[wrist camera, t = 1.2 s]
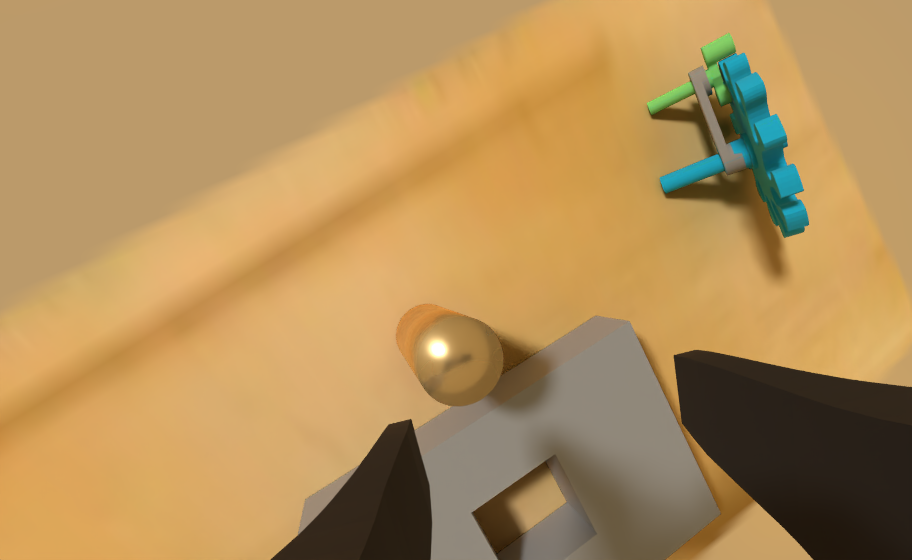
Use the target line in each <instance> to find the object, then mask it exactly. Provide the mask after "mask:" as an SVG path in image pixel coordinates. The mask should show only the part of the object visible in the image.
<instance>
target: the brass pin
mask: <svg viewBox="0 0 912 560" xmlns="http://www.w3.org/2000/svg"><path fill="white" fill-rule="evenodd" d="M396 340H397V345H398V347H399V350H400V351H401V353H402V355H403V356H404V358H405V359H406V361H407V362H408V364H409V366H410V367H411V369H412V370H413V372H414V373H415V375H416V377H417V378H418V380H419V381H420V383H421V384H422V386H423V387H424V389H425V390H426V392H427V393H428V394H429V395H430V396H431V397H432V398H434V399H435V400H437V401H438V402H440V403H443V404H446V405H449V406H467V405H471V404H473V403H476V402H478V401H480V400H481V399H483V398H484V397H486V396H487V395H488V394H489V393H490V392H491V391H492V390H493V388H494V387H495V386H496V384H497V382H498V380H499V378H500V376H501V373H502V369H503V350H502V346H501V343H500V341H499V339H498V337H497V336H496V334H495V333H494V331H493V330H492V329H491V328H490V327H489V326H487V325H486V324H485V323H483V322H481V321H479V320H477V319H474V318H471V317H468V316H465V315H462V314H460V313H457V312H454V311H451V310H448V309H445V308H442V307H439V306H437V305H432V304H423V305H419V306H416V307H414V308H412V309H410V310H409V311H408V312H407V313H405V315H404V316H403V317H402V318H401V320H400V322H399V324H398V327H397V332H396Z"/></svg>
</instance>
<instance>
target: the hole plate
mask: <svg viewBox="0 0 912 560" xmlns="http://www.w3.org/2000/svg"><path fill="white" fill-rule="evenodd" d="M415 435H416V438H417V442H418V445H419V449H420V453H421V456H422V460H423V463H424V467H425V470H426V474H427V478H428V481H429V485H430V497H431V510H432V543H431V560H665V559H667V558H668V557H669V556H670V555H671V554H673V553H674V552H675V551H676V550H677V549H679V548H680V547H681V546H682V545H684V544H685V543H686V542H687V541H688V540H690V539H691V538H692V537H693V536H695V535H696V534H697V533H698V532H699V531H701V530H702V529H703V528H704V527H705V526H707V525H708V524H709V523H710V522H712V521H713V520H714V519H715V518H716V517H718V516H719V515H720V514H721V512H720V510H719V508H718V506H717V504H716V502H715V500H714V498H713V496H712V494H711V491H710V489H709V487H708V485H707V483H706V481H705V479H704V477H703V475H702V473H701V470H700V468H699V466H698V464H697V462H696V460H695V458H694V456H693V454H692V452H691V449H690V447H689V445H688V443H687V441H686V439H685V437H684V435H683V433H682V431H681V428H680V426H679V424H678V422H677V420H676V418H675V416H674V414H673V412H672V410H671V407H670V405H669V403H668V401H667V399H666V397H665V395H664V393H663V391H662V389H661V386H660V384H659V382H658V380H657V378H656V376H655V374H654V372H653V370H652V368H651V365H650V363H649V361H648V359H647V357H646V355H645V353H644V351H643V349H642V347H641V344H640V342H639V340H638V338H637V336H636V334H635V332H634V330H633V328H632V326H631V323H630V321H625V320H619V319H613V318H607V317H600V316H595V317H593V318H592V319H590V320H588V321H587V322H585V323H584V324H582V325H581V326H579V327H577V328H576V329H574V330H573V331H571V332H569V333H568V334H566V335H565V336H563V337H562V338H560V339H558V340H557V341H555V342H554V343H552V344H550V345H549V346H547V347H546V348H544V349H543V350H541V351H539V352H538V353H536V354H535V355H533V356H532V357H530V358H528V359H527V360H525V361H524V362H522V363H520V364H519V365H517V366H516V367H514V368H513V369H511V370H509V371H508V372H506V373H505V374H503V375H501V376H500V378H499V380H498V382H497V384H496V386H495V387H494V388H493V390H492V391H491V392H490V393H489V394H488V395H487V396H486V397H484V398H483V399H481V400H480V401H478V402H476V403H473V404H471V405H467V406H452V407H451V408H449V409H448V410H446V411H445V412H443V413H441V414H440V415H438V416H437V417H435V418H433V419H432V420H430V421H429V422H427V423H426V424H424V425H422V426H421V427H419V428H418V429H416V430H415ZM544 461H546V463H547V465H548V467H549V469H550V471H551V473H552V475H553V476H554V478H555V480H556V482H557V484H558V486H559V488H560V490H561V492H562V494H563V495H564V497H565V499H566V501H567V503H565V504H564V505H563V506H561V507H560V508H559V509H557V510H556V511H555V512H553V513H552V514H550V515H549V516H548V517H546V518H545V519H544V520H542V521H541V522H540V523H538V524H537V525H535V526H534V527H533V528H531V529H530V530H529V531H527V532H526V533H525V534H523V535H522V536H521V537H519V538H518V539H516V540H515V541H514V542H512V543H511V544H510V545H508V546H507V547H506V548H504V549H503V550H502V551H500V552H499V553H497V554H496V552H495V551H494V549H493V547H492V545H491V544H490V542H489V540H488V538H487V537H486V535H485V533H484V531H483V529H482V528H481V526H480V524H479V522H478V521H477V519H476V517H475V515H474V514H473V511H475V510H476V509H477V508H479V507H480V506H482V505H483V504H485V503H486V502H487V501H489V500H490V499H492V498H493V497H495V496H496V495H497V494H499V493H500V492H502V491H503V490H505V489H506V488H507V487H509V486H510V485H512V484H513V483H514V482H516V481H517V480H519V479H520V478H522V477H523V476H524V475H526V474H527V473H529V472H530V471H532V470H533V469H534V468H536V467H537V466H539V465H540V464H542V463H543V462H544ZM358 467H359V466H358ZM358 467H356V468H354V469H353V470H351V471H350V472H348V473H347V474H345V475H343V476H342V477H340V478H339V479H337V480H335V481H334V482H332V483H331V484H329V485H328V486H326V487H324V488H323V489H321V490H320V491H318V492H316V493H315V494H313V495H312V496H310V497H309V498H307V499H305V503H304V508H303V513H302V517H301V522H300V527H299V531H298V535H299V534H300V533H301V532H302V531H303V530H304V529H305V528H306V527H307V526H308V525H309V524H310V523H311V522H312V521H313V520H314V519H315V518H316V517H317V516H318V514H319V513H320V512H321V511H322V510H323V509H324V508H325V507H326V506H327V505H328V503H329V502H330V501H331V500H332V499H333V498H334V497H335V495H336V494H337V493H338V492H339V490H340V489H341V488H342V487H343V485H344V484H345V483H346V482H347V481H348V479H349V478H350V477H351V476H352V474H353V473H354V472H355V471H356V469H357V468H358Z"/></svg>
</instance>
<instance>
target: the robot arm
mask: <svg viewBox="0 0 912 560" xmlns="http://www.w3.org/2000/svg"><path fill="white" fill-rule="evenodd" d="M674 362H675V370H676V379H677V387H678V395H679V403H680V411H681V419H682V424H683V425H684V426H685V428H686V429H687V430H688V431H689V433H690V434H691V435H692V437H693V438H694V439H695V440H696V442H697V443H698V444H699V445H700V446H701V448H702V449H703V450H704V451H705V452H706V454H707V455H708V456H709V457H710V458H711V459H712V460H713V461H714V462H715V463H716V464H717V465H718V466H719V467H720V468H722V469H723V470H724V471H725V472H726V473H727V474H728V475H729V476H730V477H731V478H732V479H733V480H734V481H735V482H736V483H737V484H738V485H739V486H740V487H741V488H742V489H743V490H744V491H745V492H747V493H748V494H749V495H750V496H751V497H752V498H753V499H754V500H755V501H756V502H757V503H758V504H759V505H760V506H761V507H762V508H763V509H764V510H765V511H767V512H768V513H769V514H770V515H771V516H772V517H773V518H774V519H775V520H776V521H777V522H778V523H779V524H780V525H781V526H782V527H783V528H785V530H786V531H787V532H788V533H789V534H790V535H791V536H792V537H793V538H794V539H795V540H796V541H797V542H798V543H799V544H800V545H801V546H802V547H803V548H804V550H805V551H806V552H807V553H808V554H809V555H810V556H811V558H813V560H912V387H905V386H897V385H888V384H881V383H873V382H865V381H858V380H851V379H845V378H839V377H833V376H828V375H822V374H816V373H811V372H805V371H800V370H795V369H790V368H786V367H781V366H776V365H771V364H767V363H762V362H758V361H753V360H748V359H744V358H739V357H735V356H730V355H725V354H720V353H715V352H709V351H701V350H694V351H689V352H685V353H681V354H677V355H674ZM431 543H432V510H431V497H430V485H429V481H428V478H427V474H426V470H425V467H424V463H423V460H422V456H421V453H420V449H419V445H418V442H417V438H416V435H415V431H414V427H413V424H412V420H411V419H410V420H406V421H401V422H397V423H393V424H389V425H388V426H387V428H386V429H385V430H384V432H383V433H382V434H381V436H380V437H379V439H378V440H377V442H376V443H375V445H374V446H373V447H372V449H371V450H370V452H369V453H368V454H367V456H366V457H365V458H364V460H363V461H362V463H361V464H360V465H359V467H358V468H357V469H356V471H355V472H354V473H353V474H352V476H351V477H350V478H349V479H348V481H347V482H346V483H345V484H344V485H343V487H342V488H341V489H340V490H339V492H338V493H337V494H336V495H335V497H334V498H333V499H332V500H331V501H330V502H329V503H328V505H327V506H326V507H325V508H324V509H323V510H322V511H321V512H320V513H319V514H318V516H317V517H316V518H315V519H314V520H313V521H312V522H311V523H310V524H309V525H308V526H307V527H306V528H305V529H304V530H303V531H302V532H301V533H300V534H299V535H298V536H297V537H295V538H294V539H293V540H292V541H291V542H290V543H289V544H288V545H287V546H285V547H284V548H283V549H282V550H281V551H280V552H279V553H277V554H276V555H275V556H274V557H273V558H272V559H271V560H431Z"/></svg>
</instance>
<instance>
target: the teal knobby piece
mask: <svg viewBox="0 0 912 560" xmlns="http://www.w3.org/2000/svg"><path fill="white" fill-rule="evenodd" d="M701 51H702V55H703V58H704V60H705V63H706V65H707V68H708V70H706V71H705V70H704V68H703V66H701V67H699V68H697V69H695V70H693V71H691V72H689V73H688V75H689V78H690V82H688V83H686V84H684V85H682V86H680V87H678V88H676V89H674V90H672V91H670V92H668V93H666V94H664V95H662V96H660V97H658V98H656V99H654V100H652V101H650V102H648V103H647V105H648V108H649V110H650V113H651V115H652V114H655V113H657V112H659V111H661V110H663V109H665V108H667V107H669V106H671V105H673V104H675V103H677V102H679V101H681V100H683V99H685V98H687V97H689V96H691V95H693V94H695V95H696V97H697V100H698V103H699V105H700V108H701V110H702V113H703V116H704V118H705V121H706V124H707V126H708V129H709V131H710V134H711V137H712V139H713V142H714V144H715V147H716V150H717V152H718V154H716V155H714V156H711V157H709V158H706V159H704V160H701V161H699V162H696V163H694V164H692V165H689V166H687V167H684V168H682V169H679V170H677V171H674V172H672V173H670V174H667V175H665V176H662V177H660V181H661V184H662V187H663V189H664V191H665V193H669V192H671V191H674V190H676V189H679V188H682V187H684V186H687V185H689V184H692V183H694V182H697V181H700V180H702V179H705V178H707V177H710V176H713V175H715V174H718V173H720V172H723V171H725V173H726V175H727V176H728V175H731V174H733V173H736V172H738V171H741V170H744V169H746V168H749V169H752V170H753V173H754V176H755V181H756V186H757V190H758V192H759V194H760V196H761V198H762V200H763V202H766V203H767V206H768V209H769V213H770V216H771V218H772V221H773V223H774V224H775V225H776V226H778V225H779V227H780V229H781V232H782V234H783V236H784V238H785V237H789V236H792V235H796V234H799V233H802V232H804V230H805V228H804V226H808V225H809V220H808V215H807V211H806V208H805V206H804V204H803V203H802V201H801V200H800V199H799V200H798V199H797V198H796V196H795V194H796V193H799V192H802V191H804V189H803V186H802V182H801V179H800V176H799V174H798V171H797V169H796V166H795V165H794V164H791V165H788V166H787V164H786V161H785V158H784V152H783V148H785V147H787V146H788V144H787V135H786V133H785V130H784V128H783V126H782V124H781V121H780V119H779V117H778V116H777V114H775V115H772V116H770V113H769V109H768V104H767V94H766V89H765V85H764V82H763V81H762V79H761V77H760V76H759V75H758V73H756V72H755V73H753V74H751V70H750V66H749V63H748V60H747V57H746V55H745V53H742V54H740V55H738V56H737V54H736V53H735V52H736V49H735V45H734V42H733V39H732V37H731V35H730V33H728V34H726V35H724V36H722V37H720V38H719V39H717V40H715V41H713V42H711V43H709V44H707V45H706V46H704V47H702V48H701ZM733 53H735V54H733ZM731 54H733V55H731ZM729 55H731V56H729ZM727 56H729V57H727ZM725 57H727V58H725ZM724 58H725V59H724ZM722 59H723V60H722ZM720 60H721V61H720ZM718 61H719V62H718ZM717 62H718V65H719V68H718V66H717ZM722 79H723V80H722ZM713 87H714V89H715V93H716V96H717V99H718V101H719V104H720V106H721V107H722V106H724V105H726V104H729V103H730V105H731V107H732V109H733V112H734V113H732V114H730V118H731V121H732V124H733V127H734V129H735V132H736V134H739V133H740V139H737V140H735V141H733V142H730V143H728V144H726V143H725V140H724V137H723V135H722V132H721V130H720V127H719V124H718V122H717V119H716V117H715V114H714V111H713V109H712V106H711V104H710V101H709V98H708V96H710V95H712V89H711V88H713Z"/></svg>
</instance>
